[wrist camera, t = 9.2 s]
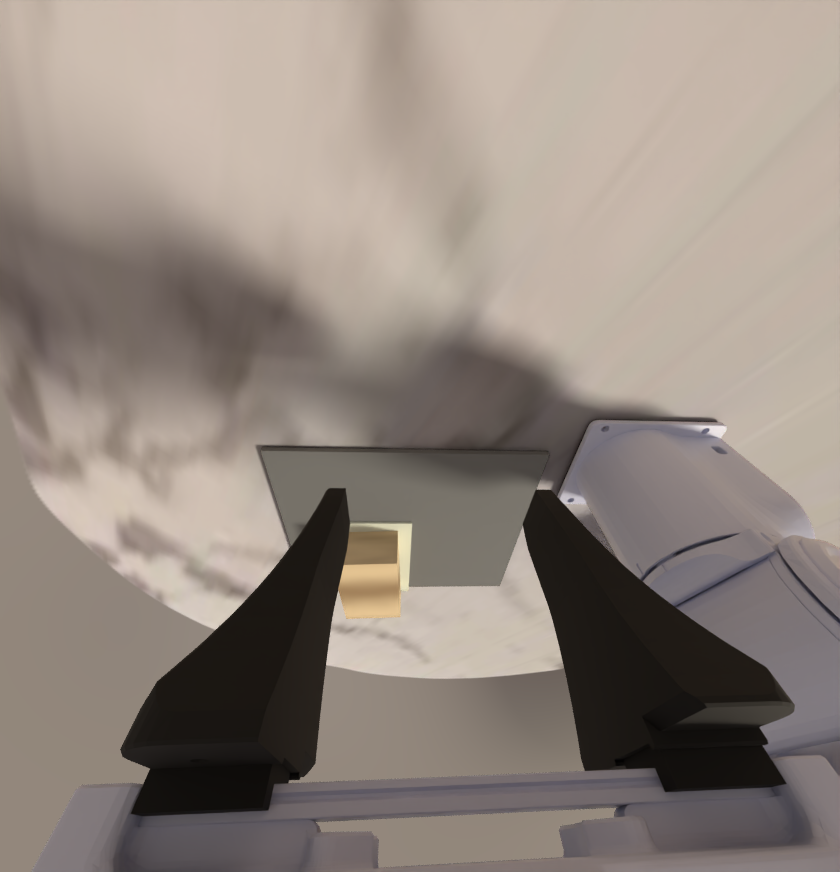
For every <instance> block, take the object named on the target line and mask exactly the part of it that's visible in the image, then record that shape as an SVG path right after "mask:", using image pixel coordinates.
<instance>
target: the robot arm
mask: <svg viewBox="0 0 840 872" xmlns="http://www.w3.org/2000/svg"><path fill="white" fill-rule="evenodd" d="M605 426H606V427H605ZM603 427H605V428H603ZM602 428H603V429H602ZM726 430H727V427H726V426H725V425H724V424H723V423H720V422H674V421H627V420H595V421H593V422H591V423H590V424H589V426H588V428H587V430H586V433H585V435H584V437H583V439H582V442H581V444H580V446H579V448H578V451H577V453H576V455H575V457H574V460H573V462H572V464H571V466H570V469H569V471H568V473H567V475H566V478H565V480H564V482H563V484H562V487H561V489H560V491H559V493H558V496H556V495H555V494H554V493H553V492H552V490H535V492H534V495H533V498H532V500H531V503H530V506H529V508H528V511H527V513H526V516H525V519H524V521H523V528H524V533H525V537H526V542H527V546H528V550H529V553H530V556H531V559H532V561H533V564H534V567H535V570H536V573H537V576H538V578H539V581H540V584H541V587H542V590H543V592H544V595H545V598H546V601H547V604H548V606H549V610H550V613H551V616H552V619H553V623H554V627H555V631H556V635H557V639H558V643H559V647H560V651H561V656H562V660H563V664H564V669H565V673H566V678H567V683H568V688H569V693H570V697H571V702H572V707H573V713H574V718H575V724H576V730H577V735H578V741H579V748H580V754H581V759H582V763H583V766H584V769H585V771H574V772H550V773H526V774H503V775H478V776H455V777H431V778H407V779H382V780H358V781H334V782H312V783H288V782H289V780H299V779H300V777H304V776H305V775H306V774H307V773H308V772H309V771H310V770H311V768H312V767H313V766H314V764H315V761H316V750H317V740H318V730H319V721H320V711H321V702H322V693H323V685H324V676H325V668H326V660H327V652H328V644H329V637H330V629H331V622H332V616H333V611H334V606H335V602H336V597H337V593H338V588H339V584H340V579H341V575H342V571H343V566H344V562H345V557H346V552H347V547H348V538H349V529H350V518H349V510H348V502H347V495H346V488H329V489H327V490H326V492H325V494H324V496H323V498H322V499H321V501H320V503H319V505H318V506H317V508H316V510H315V511H314V513H313V515H312V516H311V518H310V519H309V521H308V522H307V524H306V525H305V527H304V528H303V530H302V531H301V533H300V534H299V536H298V537H297V539H296V540H295V542H294V543H293V544H292V546H291V547H290V548H289V550H288V551H287V552H286V554H285V555H284V556H283V558H282V559H281V560H280V562H279V563H278V564H277V565H276V566H275V568H274V569H273V570H272V571H271V573H270V574H269V575H268V576H267V577H266V578H265V580H264V581H263V582H262V583H261V584H260V585H259V586H258V588H257V589H256V590H255V591H254V592H253V593H252V594H251V595H250V596H249V597H248V598H247V599H246V601H245V602H244V603H243V604H242V605H241V606H240V607H239V608H238V609H237V610H236V611H235V612H234V613H233V614H232V615H231V616H230V617H229V618H228V619H227V620H226V621H225V622H224V623H223V624H221V625H220V626H219V627H218V628H217V629H216V630H215V631H214V632H213V633H212V634H211V635H210V636H209V637H208V638H207V639H206V640H205V641H204V642H202V643H201V644H200V645H199V646H198V647H197V648H196V649H195V650H193V652H191V653H190V654H189V655H188V656H186V657H185V658H184V659H183V660H182V661H181V662H179V663H178V664H177V665H176V666H175V667H174V668H172V669H171V670H170V671H169V672H168V673H167V674H165V675H164V676H163V677H162V678H161V679H160V680H159V681H157V683H156V684H155V686H154V688H153V689H152V691H151V693H150V694H149V696H148V698H147V699H146V700H145V702H144V704H143V706H142V707H141V709H140V711H139V713H138V715H137V717H136V719H135V721H134V723H133V725H132V727H131V729H130V731H129V733H128V735H127V737H126V739H125V741H124V743H123V745H122V747H121V749H120V750H121V753H122V756H123V757H124V758H126V759H128V760H130V761H133V762H135V763H138V764H140V765H143V766H146V767H148V768H150V770H149V773H148V775H147V777H146V779H145V782H144V784H135V783H118V784H93V785H81V786H80V787H78V788H77V789H76V790H75V792H74V794H73V796H72V797H71V799H70V801H69V803H68V805H67V807H66V808H65V810H64V812H63V814H62V816H61V818H60V820H59V821H58V823H57V825H56V827H55V829H54V831H53V832H52V834H51V836H50V838H49V840H48V842H47V843H46V845H45V847H44V849H43V851H42V853H41V855H40V856H39V858H38V860H37V862H36V864H35V866H34V868H33V869H32V871H31V872H840V548H838V547H836V546H834V545H833V544H830V543H828V542H826V541H822V540H817V539H815V534H814V530H813V527H812V524H811V522H810V520H809V517H808V516H807V514H806V512H805V511H804V509H803V508H802V507H801V505H800V504H799V503H798V502H797V501H796V500H795V499H794V498H793V497H792V496H791V495H789V494H788V493H787V492H786V491H785V490H783V489H782V488H781V487H780V486H778V485H777V484H776V483H775V482H773V481H772V480H771V479H770V478H769V477H767V476H766V475H765V474H764V473H762V472H761V471H760V470H759V469H758V468H756V467H755V466H754V465H753V464H751V463H750V462H749V461H748V460H746V459H745V458H744V457H743V456H742V455H740V454H739V453H738V452H737V451H735V450H734V449H733V448H732V447H730V446H729V445H728V444H727V443H726V442H724V441H723V440H722V439H721V437H722V436H723V434H724V433H725V432H726ZM564 504H587V505H588V507H589V508H590V510H591V512H592V514H593V516H594V517H595V519H596V521H597V523H598V524H599V526H600V528H601V530H602V532H603V533H604V535H605V537H606V539H607V540H608V542H609V544H610V546H611V548H612V549H613V551H614V553H615V555H616V556H617V558H618V559H616V558H615V557H614V556H613V555H612V554H611V553H610V552H609V551H608V550H607V549H606V548H605V547H604V546H603V545H602V544H601V543H600V542H599V541H598V540H597V539H596V538H595V537H594V536H593V535H592V534H591V533H590V532H589V531H588V530H587V529H586V528H585V527H584V526H583V524H582V523H581V522H580V521H579V520H578V519H577V518H576V517H575V516H574V515H573V514H572V513H571V511H570V510H569V509H568V508H567V507H566V506H565V505H564ZM616 807H619V808H616ZM596 808H616V810H615V812H614V818H605V819H594V820H583V821H582V822H580V823H576V824H571V825H565V826H560V829H559V832H560V836H561V841H562V844H563V849H564V856H563V857H560V858H542V859H524V860H506V861H488V862H471V863H453V864H436V865H418V866H403V867H402V866H401V867H384V868H378V843H379V840H378V838H377V836H374V835H373V833H372V832H321V830H320V827H319V826H318V824H317V823H316V822H326V821H327V822H328V821H348V820H368V819H388V818H409V817H431V816H452V815H471V814H492V813H512V812H533V811H554V810H575V809H596Z"/></svg>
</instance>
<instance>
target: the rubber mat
mask: <svg viewBox="0 0 840 872" xmlns="http://www.w3.org/2000/svg"><path fill="white" fill-rule="evenodd" d="M261 454H262V457H263V460H264V463H265V467H266V470H267V473H268V476H269V479H270V482H271V485H272V488H273V492H274V495H275V498H276V501H277V504H278V507H279V510H280V513H281V517H282V520H283V523H284V526H285V529H286V532H287V535H288V538H289V541H290V545H291V546H292V544H293V543H294V542H295V540H296V539H297V537H298V536H299V534H300V533H301V531H302V530H303V528H304V527H305V525H306V524H307V522H308V521H309V519H310V518H311V516H312V515H313V513H314V511H315V510H316V508H317V506H318V505H319V503H320V501H321V499H322V498H323V496H324V494H325V492H326V490H327V489H329V488H346V495H347V502H348V510H349V518H350V529H349V532H375V531H398V544H399V564H400V583H401V591H408V589H409V587H428V586H500V584H501V581H502V579H503V576H504V573H505V571H506V568H507V565H508V563H509V560H510V558H511V555H512V552H513V550H514V547H515V544H516V542H517V539H518V536H519V534H520V531H521V529H522V526H523V521H524V519H525V516H526V513H527V511H528V508H529V506H530V503H531V500H532V498H533V495H534V492H535V490H536V489H537V487H538V484H539V481H540V479H541V476H542V473H543V471H544V468H545V465H546V463H547V460H548V458H549V453H548V451H485V450H421V449H357V448H292V447H262V449H261Z"/></svg>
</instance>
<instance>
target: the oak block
mask: <svg viewBox="0 0 840 872" xmlns="http://www.w3.org/2000/svg"><path fill="white" fill-rule="evenodd" d="M338 590H339V593H340V597H341V600H342V604H343V608H344V611H345V615H346V618H347V619H353V618H385V617H400V597H401V583H400V564H399V544H398V531H375V532H349V538H348V547H347V552H346V557H345V562H344V566H343V571H342V575H341V579H340V584H339V588H338Z"/></svg>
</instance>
